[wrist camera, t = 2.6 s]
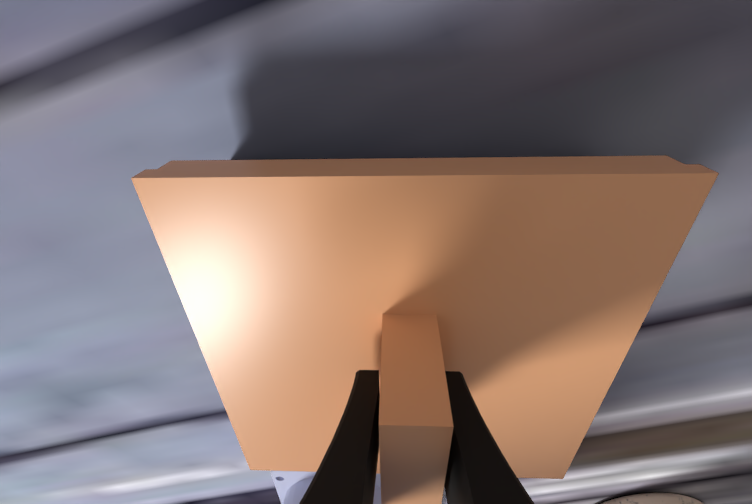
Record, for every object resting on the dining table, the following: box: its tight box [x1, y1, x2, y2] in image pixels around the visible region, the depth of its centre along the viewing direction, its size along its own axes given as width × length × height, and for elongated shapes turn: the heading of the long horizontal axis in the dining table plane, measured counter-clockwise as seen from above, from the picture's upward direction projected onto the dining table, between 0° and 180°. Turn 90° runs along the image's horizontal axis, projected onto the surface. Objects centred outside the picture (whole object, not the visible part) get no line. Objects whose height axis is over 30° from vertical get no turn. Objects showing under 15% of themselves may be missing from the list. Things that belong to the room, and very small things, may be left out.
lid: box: [131, 155, 719, 504], centre depth 11 cm, size 14×14×5 cm
